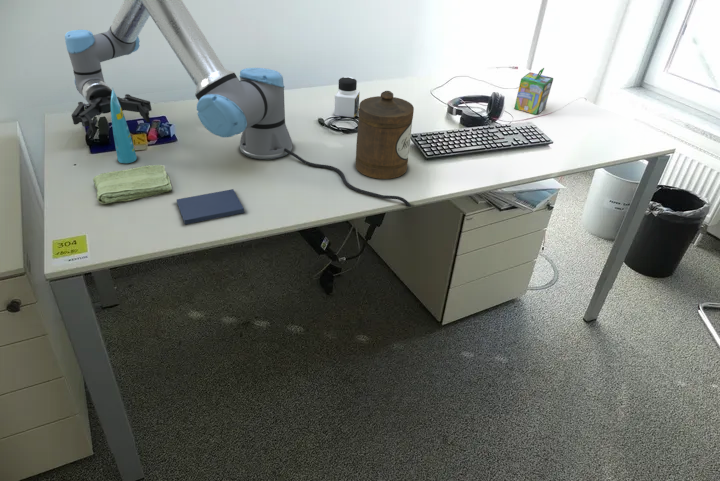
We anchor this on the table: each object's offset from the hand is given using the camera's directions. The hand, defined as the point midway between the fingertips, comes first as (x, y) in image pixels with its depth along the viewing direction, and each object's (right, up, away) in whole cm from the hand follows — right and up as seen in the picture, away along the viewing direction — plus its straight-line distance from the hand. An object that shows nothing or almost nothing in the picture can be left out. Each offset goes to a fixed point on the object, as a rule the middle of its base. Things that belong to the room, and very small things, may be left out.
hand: (121, 122), depth 136 cm
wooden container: (+69, -10, +12) cm, 70 cm away
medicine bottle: (+58, +13, +44) cm, 74 cm away
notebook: (+26, -23, -9) cm, 36 cm away
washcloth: (+5, -18, -3) cm, 19 cm away
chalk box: (+125, +17, +55) cm, 137 cm away
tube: (-2, -9, +9) cm, 12 cm away
